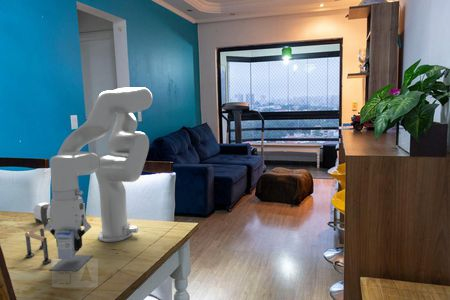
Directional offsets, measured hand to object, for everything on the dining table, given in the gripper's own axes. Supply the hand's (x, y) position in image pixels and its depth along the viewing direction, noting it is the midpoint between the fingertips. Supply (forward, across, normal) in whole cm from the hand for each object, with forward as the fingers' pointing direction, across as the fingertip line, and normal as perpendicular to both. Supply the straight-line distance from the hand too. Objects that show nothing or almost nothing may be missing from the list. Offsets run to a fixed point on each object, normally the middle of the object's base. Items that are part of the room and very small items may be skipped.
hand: (69, 248), depth 107 cm
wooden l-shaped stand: (+5, +12, -6) cm, 15 cm away
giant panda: (+5, +29, -35) cm, 46 cm away
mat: (+5, 0, 0) cm, 5 cm away
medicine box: (+2, 0, 0) cm, 2 cm away
